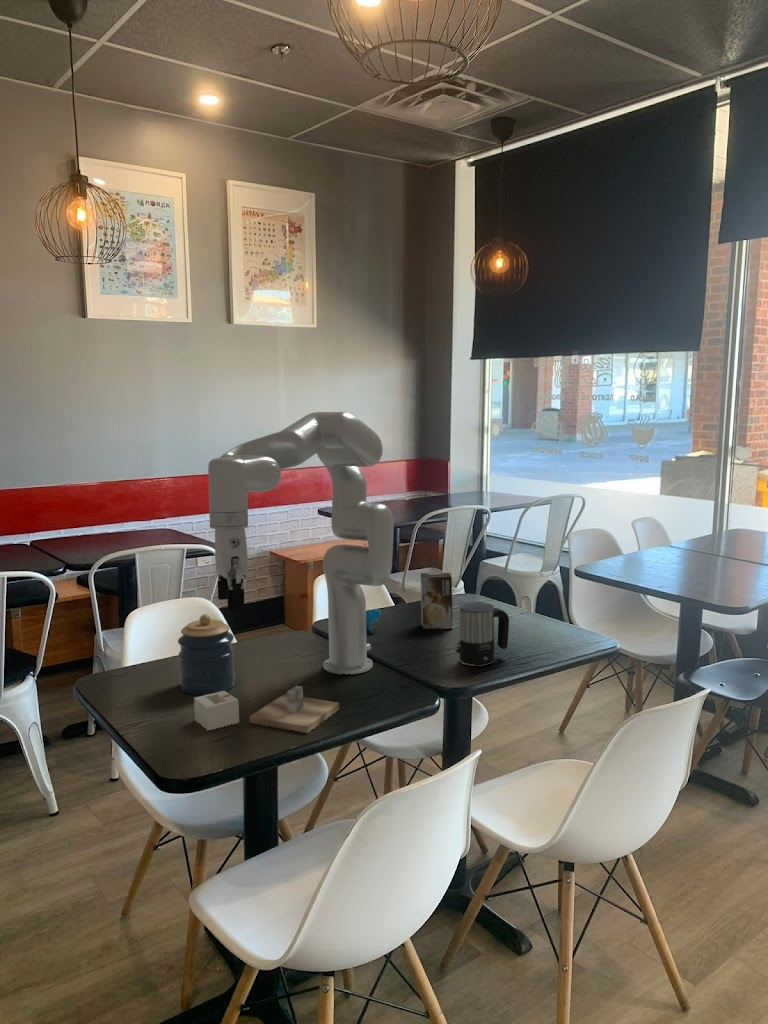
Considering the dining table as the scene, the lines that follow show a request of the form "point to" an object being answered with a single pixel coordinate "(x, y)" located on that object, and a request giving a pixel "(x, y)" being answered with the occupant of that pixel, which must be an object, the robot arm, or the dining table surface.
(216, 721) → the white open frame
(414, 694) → the dining table surface
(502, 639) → the milk frother
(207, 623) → the canister
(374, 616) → the blue green toy
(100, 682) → the dining table surface
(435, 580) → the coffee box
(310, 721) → the base
